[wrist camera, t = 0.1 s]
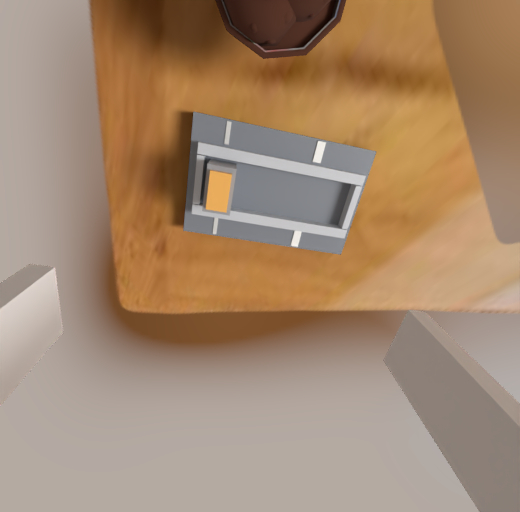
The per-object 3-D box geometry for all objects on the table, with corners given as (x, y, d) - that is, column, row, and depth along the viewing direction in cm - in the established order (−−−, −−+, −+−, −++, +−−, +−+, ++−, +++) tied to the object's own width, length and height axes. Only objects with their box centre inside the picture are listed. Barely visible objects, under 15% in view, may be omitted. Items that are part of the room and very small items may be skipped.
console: (195, 112, 32) (191, 110, 29) (369, 150, 35) (382, 152, 32) (186, 225, 37) (181, 234, 34) (336, 248, 41) (344, 259, 37)
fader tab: (211, 158, 32) (206, 164, 27) (236, 163, 33) (236, 170, 27) (206, 200, 34) (201, 213, 29) (230, 204, 35) (229, 217, 29)
